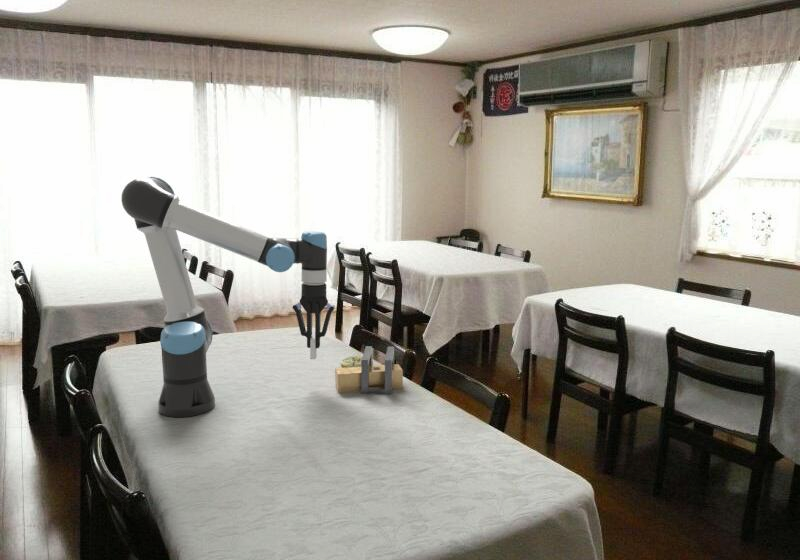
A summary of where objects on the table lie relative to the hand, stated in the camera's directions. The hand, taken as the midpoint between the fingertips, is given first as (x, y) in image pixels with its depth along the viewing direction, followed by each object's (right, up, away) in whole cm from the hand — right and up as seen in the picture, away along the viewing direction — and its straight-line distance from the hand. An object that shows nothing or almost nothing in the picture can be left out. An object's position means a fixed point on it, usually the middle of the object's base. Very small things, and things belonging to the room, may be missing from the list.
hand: (313, 357), depth 202 cm
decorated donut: (+12, -6, +18) cm, 22 cm away
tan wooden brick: (+17, -9, 0) cm, 19 cm away
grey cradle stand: (+20, -9, +1) cm, 22 cm away
